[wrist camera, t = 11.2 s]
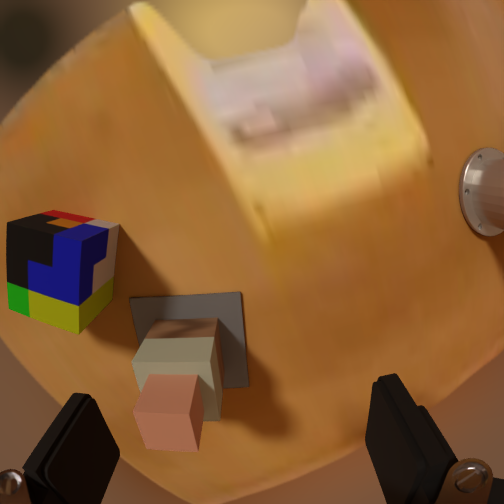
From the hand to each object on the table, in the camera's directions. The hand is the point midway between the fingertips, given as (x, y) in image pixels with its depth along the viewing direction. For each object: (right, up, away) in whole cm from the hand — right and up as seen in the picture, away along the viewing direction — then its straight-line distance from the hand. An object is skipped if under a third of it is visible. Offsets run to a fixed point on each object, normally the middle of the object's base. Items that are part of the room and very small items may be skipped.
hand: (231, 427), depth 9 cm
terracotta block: (-7, -9, +21) cm, 24 cm away
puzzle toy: (-21, +5, +28) cm, 36 cm away
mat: (-7, -6, +31) cm, 33 cm away
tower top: (-7, -8, +26) cm, 28 cm away
